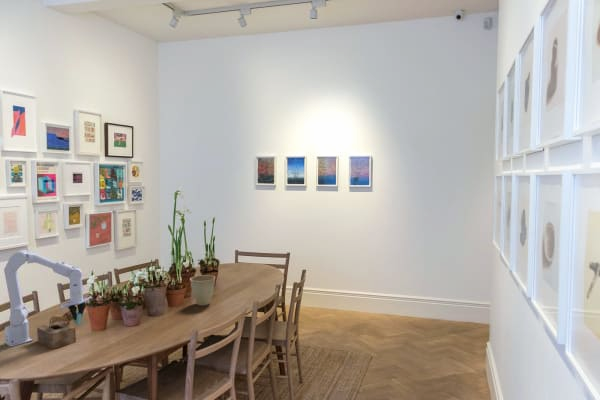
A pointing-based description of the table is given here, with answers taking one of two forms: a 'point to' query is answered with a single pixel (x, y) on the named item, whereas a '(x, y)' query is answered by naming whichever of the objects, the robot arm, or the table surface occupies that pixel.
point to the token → (78, 318)
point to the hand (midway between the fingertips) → (77, 318)
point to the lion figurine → (62, 318)
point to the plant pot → (202, 288)
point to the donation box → (56, 334)
